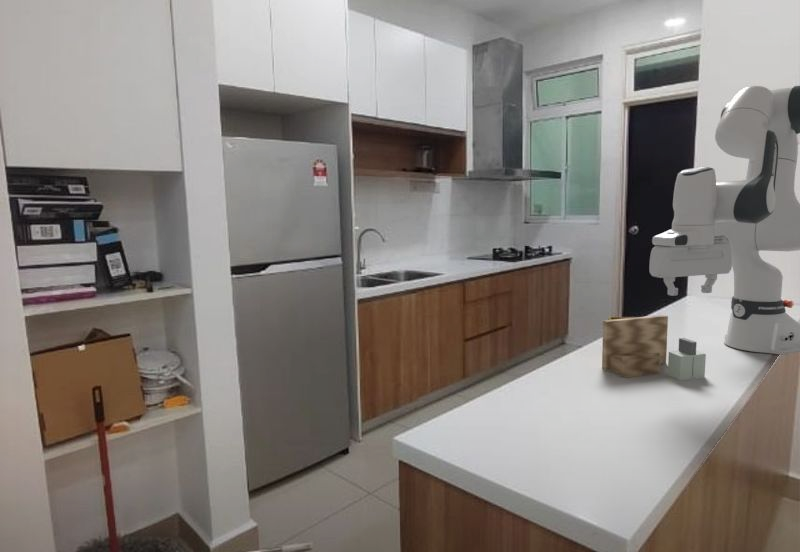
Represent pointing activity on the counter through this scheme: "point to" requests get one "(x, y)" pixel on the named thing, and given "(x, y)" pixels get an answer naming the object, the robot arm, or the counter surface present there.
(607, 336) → the wall board
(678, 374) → the pale green box
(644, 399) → the counter surface
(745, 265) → the robot arm
